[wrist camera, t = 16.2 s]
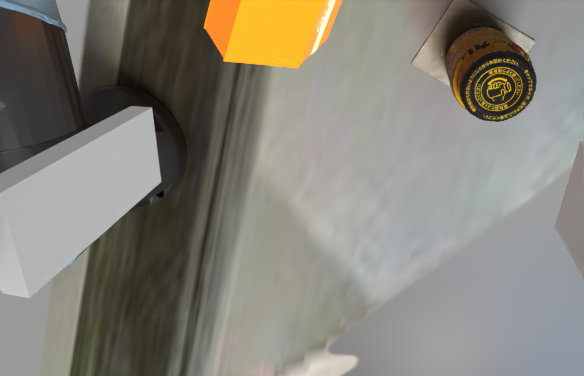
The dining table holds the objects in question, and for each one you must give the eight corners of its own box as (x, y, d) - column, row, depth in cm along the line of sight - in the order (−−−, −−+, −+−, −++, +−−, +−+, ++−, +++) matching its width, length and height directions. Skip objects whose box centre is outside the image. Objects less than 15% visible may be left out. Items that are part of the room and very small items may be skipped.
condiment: (483, 107, 46) (505, 149, 36) (411, 63, 46) (411, 92, 36) (535, 41, 43) (576, 67, 32) (457, -7, 43) (473, 3, 32)
